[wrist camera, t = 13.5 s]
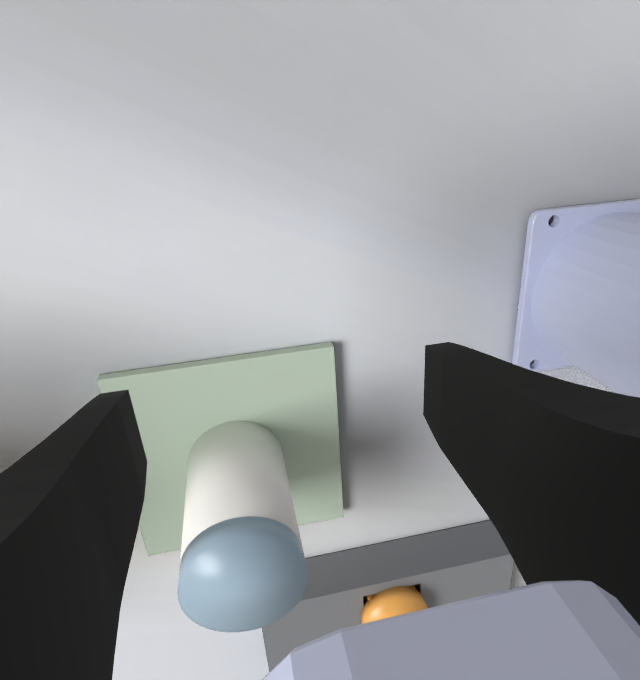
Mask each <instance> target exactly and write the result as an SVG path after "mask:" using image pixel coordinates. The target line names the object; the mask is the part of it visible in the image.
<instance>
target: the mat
mask: <svg viewBox="0 0 640 680" xmlns="http://www.w3.org/2000/svg"><path fill="white" fill-rule="evenodd" d="M97 383H98V386H99V389H100V393H108V392H115V391H121V390H129V394H130V398H131V402H132V405H133V409H134V413H135V417H136V420H137V424H138V428H139V432H140V436H141V439H142V443H143V447H144V451H145V455H146V458H147V474H146V486H145V497H144V503H143V508H142V512H141V517H140V521H139V526H140V530H141V533H142V536H143V540H144V543H145V547H146V550H147V553H148V556H150V555H155V554H160V553H165V552H170V551H175V550H180V549H181V545H182V532H183V520H184V507H185V495H186V482H187V469H188V458H189V453H190V450H191V448H192V446H193V444H194V443H195V441H196V440H197V439H198V438H199V437H200V436H201V435H202V434H203V433H204V432H206V431H207V430H209V429H210V428H212V427H214V426H216V425H219V424H222V423H226V422H231V421H248V422H253V423H256V424H259V425H261V426H263V427H265V428H267V429H268V430H270V431H271V432H272V433H273V434H274V435H275V436H276V437H277V439H278V441H279V442H280V445H281V447H282V452H283V456H284V461H285V466H286V471H287V476H288V480H289V485H290V490H291V495H292V500H293V505H294V509H295V514H296V519H297V524H298V526H301V525H306V524H311V523H316V522H321V521H326V520H331V519H336V518H341V517H344V515H343V498H342V480H341V463H340V445H339V428H338V411H337V393H336V376H335V358H334V346H333V344H332V342H326V343H319V344H312V345H305V346H298V347H291V348H284V349H277V350H270V351H263V352H256V353H249V354H242V355H235V356H228V357H221V358H214V359H207V360H199V361H192V362H185V363H178V364H171V365H164V366H157V367H150V368H143V369H136V370H129V371H122V372H115V373H108V374H101V375H99V377H98V379H97Z"/></svg>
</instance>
